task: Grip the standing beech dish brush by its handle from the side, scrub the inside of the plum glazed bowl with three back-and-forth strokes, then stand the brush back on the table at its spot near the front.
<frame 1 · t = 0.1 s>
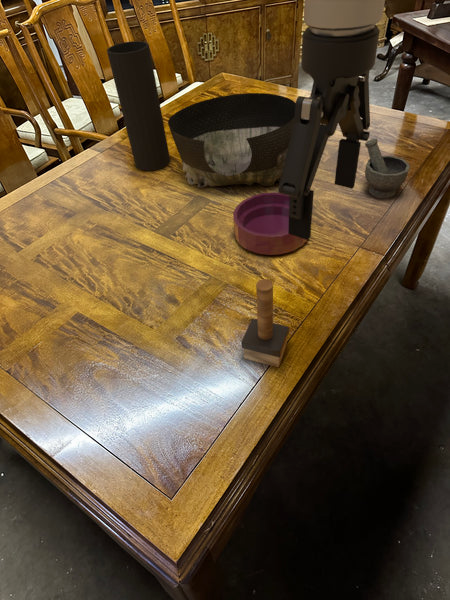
hand: (323, 208, 57), 24 cm above the table, tool pointing down, fingers open, 13 cm apart
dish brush: (265, 351, 71), on the table
mortar and pestle: (379, 191, 103), on the table
vase: (153, 163, 123), on the table
bowl: (271, 233, 94), on the table
basket: (242, 173, 114), on the table
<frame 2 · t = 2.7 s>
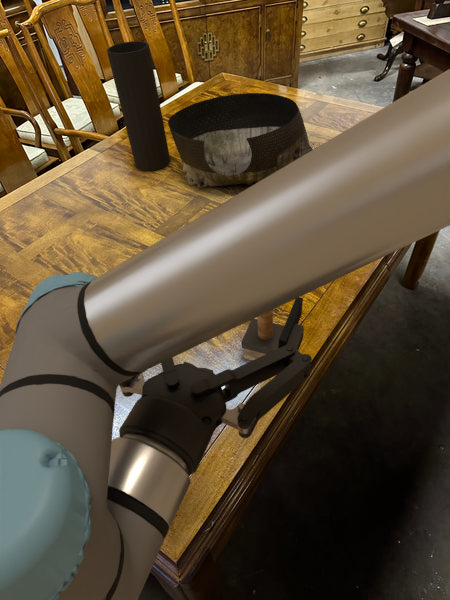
hand: (242, 292, 49), 22 cm above the table, tool horizontal, fingers open, 13 cm apart
nothing on the table moved.
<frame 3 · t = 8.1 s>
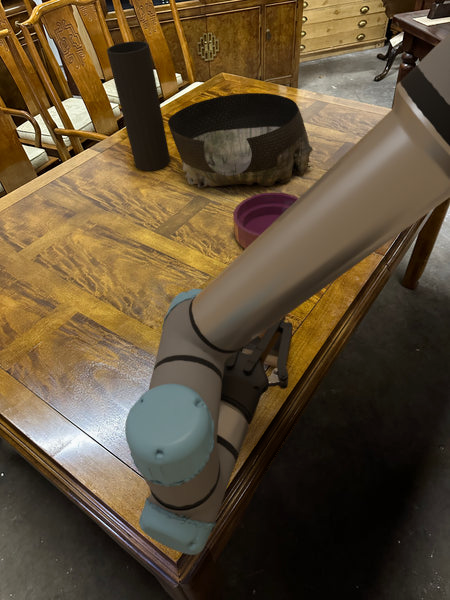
hand: (275, 289, 67), 10 cm above the table, tool horizontal, fingers closed on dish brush, 2 cm apart
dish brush: (265, 351, 71), on the table, touching gripper
everything else where it was.
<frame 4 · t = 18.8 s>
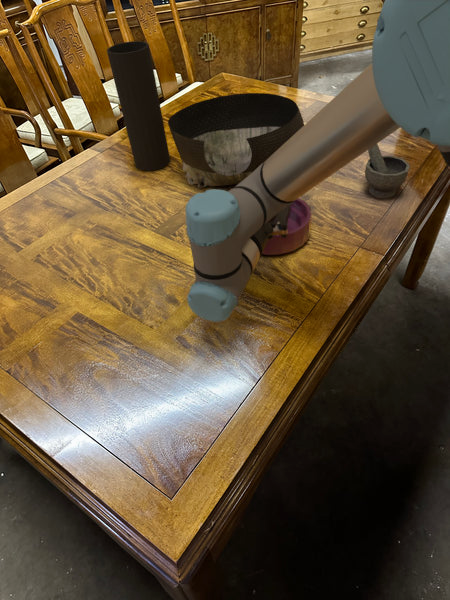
hand: (277, 182, 89), 10 cm above the table, tool horizontal, fingers closed on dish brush, 2 cm apart
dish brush: (270, 233, 92), point 1 cm above the table, touching gripper
everything else where it was.
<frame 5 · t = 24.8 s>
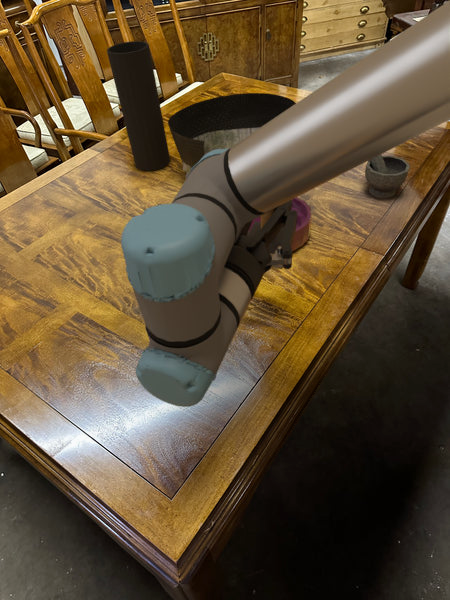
hand: (279, 188, 65), 22 cm above the table, tool horizontal, fingers closed on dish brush, 2 cm apart
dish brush: (268, 256, 69), point 13 cm above the table, touching gripper
everything else where it was.
when the fingers open (9 cm above the table, at t = 29.7 s): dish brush stays where it is, on the table.
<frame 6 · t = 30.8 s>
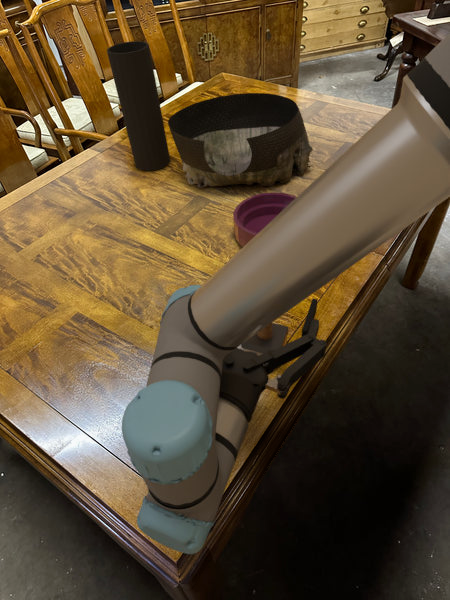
hand: (271, 296, 65), 10 cm above the table, tool horizontal, fingers open, 13 cm apart
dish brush: (265, 351, 71), on the table
everything else where it was.
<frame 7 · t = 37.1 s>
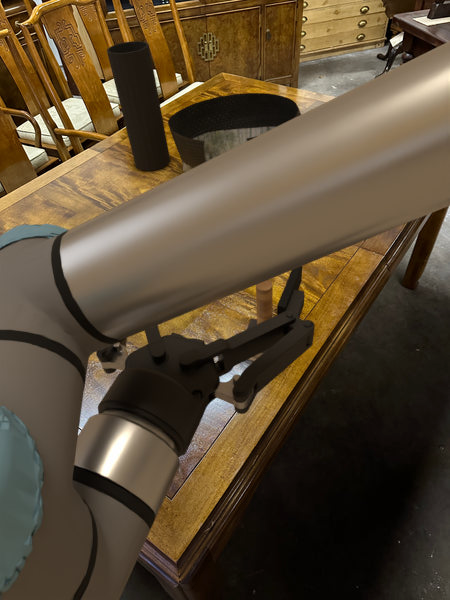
hand: (236, 259, 45), 28 cm above the table, tool horizontal, fingers open, 13 cm apart
nothing on the table moved.
at the end: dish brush tilted 0°; the gripper is holding nothing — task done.
